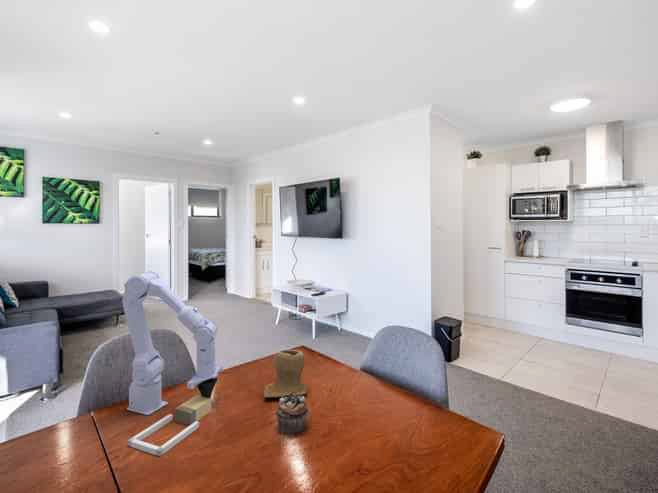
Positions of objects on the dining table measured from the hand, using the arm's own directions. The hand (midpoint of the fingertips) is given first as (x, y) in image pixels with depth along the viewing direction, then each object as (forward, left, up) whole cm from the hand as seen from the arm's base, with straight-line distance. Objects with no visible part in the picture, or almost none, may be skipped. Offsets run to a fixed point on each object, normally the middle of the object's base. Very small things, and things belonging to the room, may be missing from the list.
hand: (206, 400), depth 112 cm
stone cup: (+19, +19, -2) cm, 27 cm away
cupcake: (+31, +1, -2) cm, 31 cm away
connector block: (0, -6, -2) cm, 6 cm away
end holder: (0, -16, -2) cm, 16 cm away
